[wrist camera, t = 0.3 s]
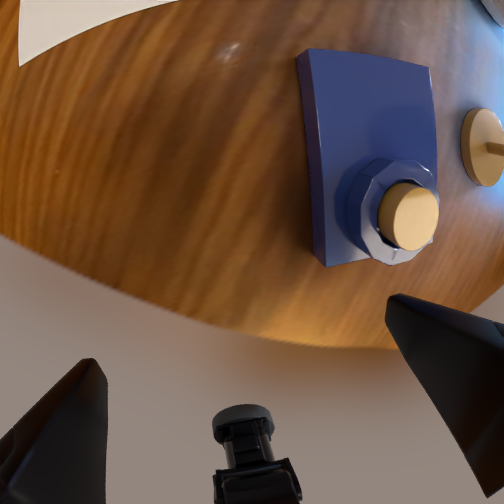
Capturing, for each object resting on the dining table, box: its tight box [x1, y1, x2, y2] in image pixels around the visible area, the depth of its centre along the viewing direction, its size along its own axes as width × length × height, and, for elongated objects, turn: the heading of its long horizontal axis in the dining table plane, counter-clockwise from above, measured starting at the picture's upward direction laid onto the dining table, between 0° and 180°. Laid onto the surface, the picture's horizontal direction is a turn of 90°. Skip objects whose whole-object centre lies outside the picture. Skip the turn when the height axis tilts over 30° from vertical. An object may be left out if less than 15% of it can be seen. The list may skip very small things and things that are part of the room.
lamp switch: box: [377, 182, 439, 251], centre depth 16 cm, size 4×4×2 cm
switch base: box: [296, 48, 440, 267], centre depth 17 cm, size 14×10×4 cm
